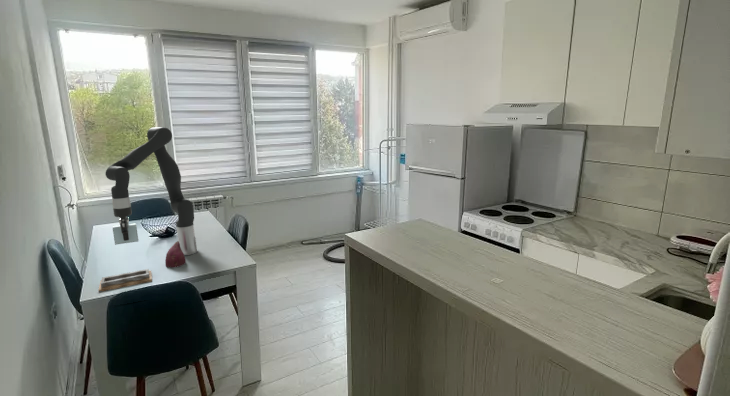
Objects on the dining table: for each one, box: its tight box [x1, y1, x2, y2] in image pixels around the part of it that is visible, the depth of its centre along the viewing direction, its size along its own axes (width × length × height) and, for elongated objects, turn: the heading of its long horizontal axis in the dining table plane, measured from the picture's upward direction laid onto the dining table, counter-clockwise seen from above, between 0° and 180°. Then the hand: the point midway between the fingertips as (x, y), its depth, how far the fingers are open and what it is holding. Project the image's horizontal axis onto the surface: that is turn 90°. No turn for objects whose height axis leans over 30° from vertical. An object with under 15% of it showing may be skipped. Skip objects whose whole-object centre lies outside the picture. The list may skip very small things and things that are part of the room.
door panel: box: [112, 222, 139, 246], centre depth 189 cm, size 10×3×9 cm, turn 119°
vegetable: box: [164, 240, 187, 269], centre depth 207 cm, size 10×10×15 cm
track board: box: [98, 268, 153, 292], centre depth 186 cm, size 22×12×3 cm, turn 121°
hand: (126, 239), depth 189 cm, fingers closed on door panel, 3 cm apart
